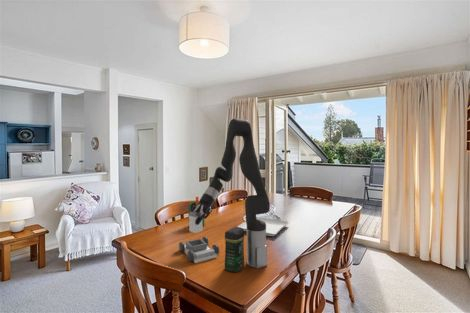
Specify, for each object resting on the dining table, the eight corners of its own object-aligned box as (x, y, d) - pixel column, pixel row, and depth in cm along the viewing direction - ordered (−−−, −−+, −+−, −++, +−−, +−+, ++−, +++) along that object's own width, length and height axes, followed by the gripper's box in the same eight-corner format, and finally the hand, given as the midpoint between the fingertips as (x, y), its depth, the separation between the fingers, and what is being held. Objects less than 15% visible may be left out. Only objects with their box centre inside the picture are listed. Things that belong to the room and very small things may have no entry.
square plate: (254, 220, 189) (254, 215, 189) (289, 226, 175) (289, 221, 175) (235, 232, 166) (235, 226, 166) (275, 239, 152) (275, 233, 152)
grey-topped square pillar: (202, 230, 136) (202, 212, 136) (195, 233, 133) (194, 214, 132) (196, 228, 140) (196, 210, 139) (189, 230, 136) (189, 212, 135)
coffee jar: (237, 274, 112) (236, 233, 111) (222, 270, 116) (221, 230, 115) (247, 265, 120) (246, 226, 119) (232, 261, 124) (232, 224, 123)
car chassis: (220, 256, 130) (220, 246, 129) (191, 264, 122) (191, 254, 121) (203, 243, 147) (203, 234, 146) (178, 249, 139) (178, 240, 138)
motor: (190, 228, 173) (190, 199, 172) (189, 224, 182) (188, 196, 181) (205, 226, 176) (204, 198, 175) (203, 222, 185) (203, 195, 183)
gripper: (197, 191, 145) (180, 216, 137) (214, 194, 136) (197, 222, 128) (204, 198, 150) (188, 223, 141) (221, 202, 140) (206, 229, 132)
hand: (193, 222), depth 135 cm, fingers closed on grey-topped square pillar, 5 cm apart
